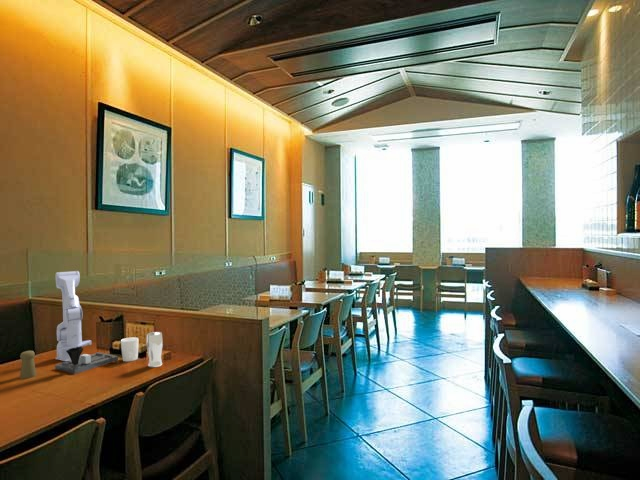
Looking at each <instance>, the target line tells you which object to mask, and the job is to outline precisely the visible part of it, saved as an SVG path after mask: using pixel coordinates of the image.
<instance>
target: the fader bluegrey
mask: <svg viewBox="0 0 640 480" xmlns="http://www.w3.org/2000/svg"><path fill="white" fill-rule="evenodd" d="M80 361H81V363H83V364H88V363H91V354H87V353H84V354H81V355H80Z"/></svg>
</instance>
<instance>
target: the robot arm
mask: <svg viewBox="0 0 640 480" xmlns="http://www.w3.org/2000/svg"><path fill="white" fill-rule="evenodd" d="M54 278H55V287H56V289H60V291H61V296H62V297H61V298H62V299H61V300H62V320H63V321H62V322H61V323H59V324H57V327H56V340H57V341H58V343H57V344H56V357H55V359H54V360H58V361H59V360H60V361H62V362H67V361H69V356H70V358H71V361H72V364H73V365H77V364H78V361H79V358H80V355H82V353H83V351H84V347H86V346H91V345H92V340H90V339H88V340H83V336H82V335H83V334H82V331H83V330H82V320H83V317H84V316H83V314H84V313H83V308H82V305H80V299H79V296H78V295H76V288H77V287H78V286H79V284H80V281H81V280H80V279H81V276H80V271H79V270H73V271H59V272H58V271H57V272H56V273H55V277H54Z"/></svg>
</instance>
